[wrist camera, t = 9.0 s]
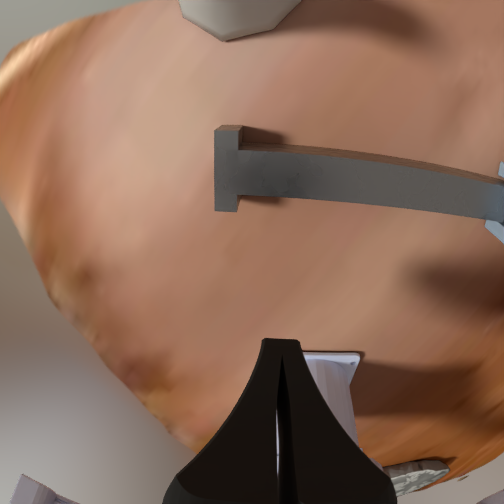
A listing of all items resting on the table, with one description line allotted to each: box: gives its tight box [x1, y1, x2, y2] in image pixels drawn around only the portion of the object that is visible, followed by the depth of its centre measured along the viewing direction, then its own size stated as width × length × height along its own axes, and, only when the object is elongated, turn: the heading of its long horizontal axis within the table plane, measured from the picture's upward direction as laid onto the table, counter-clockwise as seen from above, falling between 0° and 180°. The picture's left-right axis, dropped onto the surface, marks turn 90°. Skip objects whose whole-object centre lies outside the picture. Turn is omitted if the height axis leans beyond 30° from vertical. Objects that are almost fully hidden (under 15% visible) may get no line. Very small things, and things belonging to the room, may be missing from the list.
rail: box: [214, 125, 504, 223], centre depth 15 cm, size 7×26×6 cm, turn 88°
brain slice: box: [383, 460, 450, 497], centre depth 41 cm, size 20×17×3 cm
